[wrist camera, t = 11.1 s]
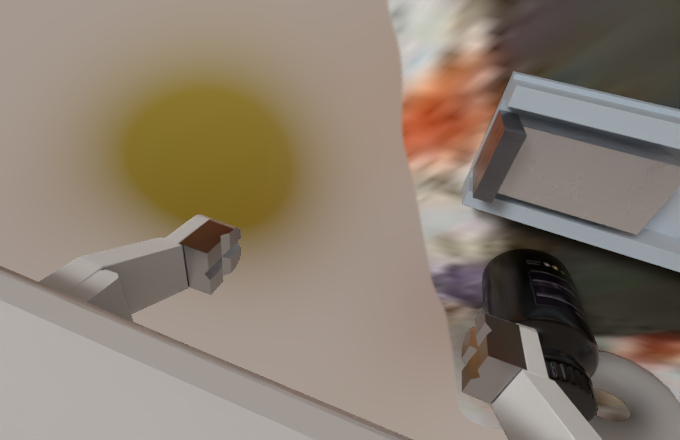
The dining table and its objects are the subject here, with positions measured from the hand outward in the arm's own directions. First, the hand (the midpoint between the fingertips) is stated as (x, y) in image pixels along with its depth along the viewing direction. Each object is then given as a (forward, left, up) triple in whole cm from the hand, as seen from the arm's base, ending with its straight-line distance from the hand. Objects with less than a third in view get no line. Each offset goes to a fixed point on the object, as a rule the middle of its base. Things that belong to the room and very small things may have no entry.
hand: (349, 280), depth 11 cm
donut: (-21, +17, -19) cm, 33 cm away
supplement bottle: (-13, +10, -19) cm, 25 cm away
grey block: (-10, -1, -17) cm, 20 cm away
